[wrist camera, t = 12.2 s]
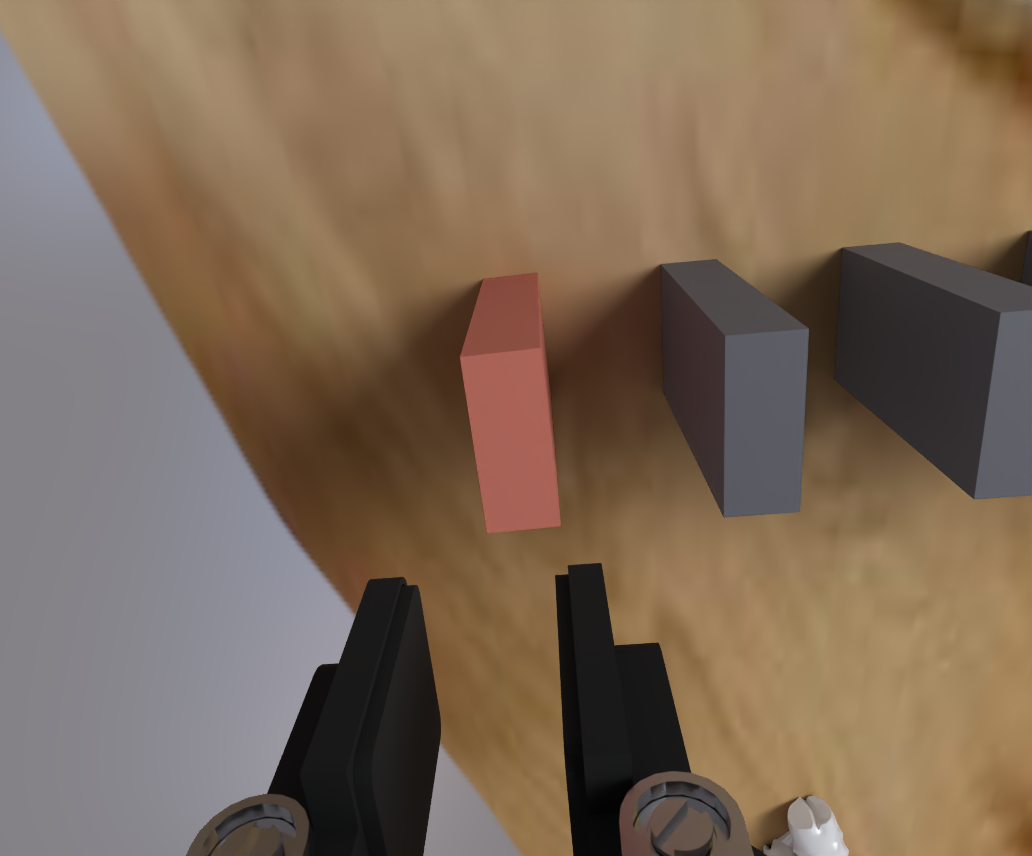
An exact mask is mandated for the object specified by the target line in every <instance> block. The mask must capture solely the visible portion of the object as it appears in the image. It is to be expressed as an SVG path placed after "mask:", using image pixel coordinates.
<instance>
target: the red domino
mask: <svg viewBox="0 0 1032 856" xmlns="http://www.w3.org/2000/svg"><path fill="white" fill-rule="evenodd" d="M460 361H461V367H462V374H463V380H464V387H465V393H466V400H467V406H468V413H469V419H470V426H471V432H472V438H473V445H474V451H475V458H476V464H477V471H478V477H479V484H480V490H481V496H482V503H483V509H484V516H485V522H486V529H487V533H497V532H507V531H517V530H527V529H537V528H548V527H558V526H561V523H560V509H559V496H558V482H557V469H556V455H555V441H554V428H553V414H552V401H551V392H550V383H549V374H548V365H547V356H546V347H545V338H544V329H543V320H542V311H541V302H540V293H539V284H538V275H537V273H531V274H522V275H514V276H505V277H497V278H489V279H483V282H482V285H481V288H480V292H479V295H478V298H477V302H476V305H475V308H474V312H473V315H472V318H471V322H470V325H469V328H468V332H467V335H466V338H465V342H464V345H463V348H462V352H461V355H460Z"/></svg>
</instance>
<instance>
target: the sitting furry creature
mask: <svg viewBox="0 0 1032 856" xmlns="http://www.w3.org/2000/svg"><path fill="white" fill-rule="evenodd" d="M788 827H789V831H787V832H786V833H785V834H784V835H782V836H781V837H780V838H778V839H774V840H773V841H772V846H771V849H770V848H769V847H768V846H766V845H765V846H764V849H763V853H764V854H766V855H767V856H848V853H849V850H848V849H847V847H846V846H845V844H844V841H843V833H842V831H841V830H840V827H839V826H838V824H837V822H836V818H835V816H834V814H833V812H832V810H831V809H830V807H829V805H828V804H827V803H826V802H825V801H824V800H823V799H821V798H819V797H817V796H809V797H807V799H806V800H804V799H802V798H800V797H798V798H797V800H796V801H795V802H793V803H792V804H791V805H790V807H789V809H788Z"/></svg>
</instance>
